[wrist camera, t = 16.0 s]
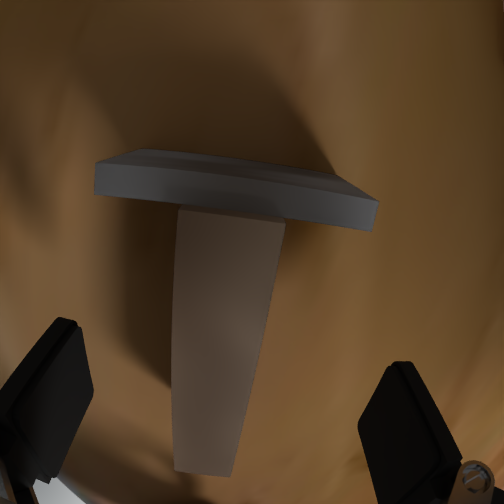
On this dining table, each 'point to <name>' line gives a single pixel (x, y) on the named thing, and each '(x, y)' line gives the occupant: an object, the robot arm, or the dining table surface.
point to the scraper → (224, 276)
